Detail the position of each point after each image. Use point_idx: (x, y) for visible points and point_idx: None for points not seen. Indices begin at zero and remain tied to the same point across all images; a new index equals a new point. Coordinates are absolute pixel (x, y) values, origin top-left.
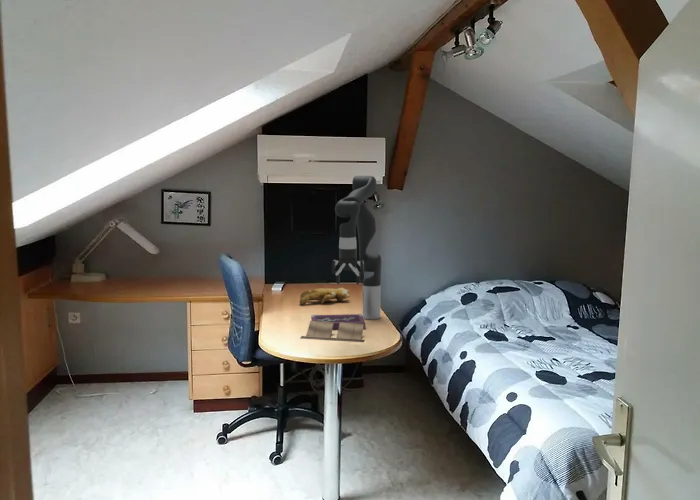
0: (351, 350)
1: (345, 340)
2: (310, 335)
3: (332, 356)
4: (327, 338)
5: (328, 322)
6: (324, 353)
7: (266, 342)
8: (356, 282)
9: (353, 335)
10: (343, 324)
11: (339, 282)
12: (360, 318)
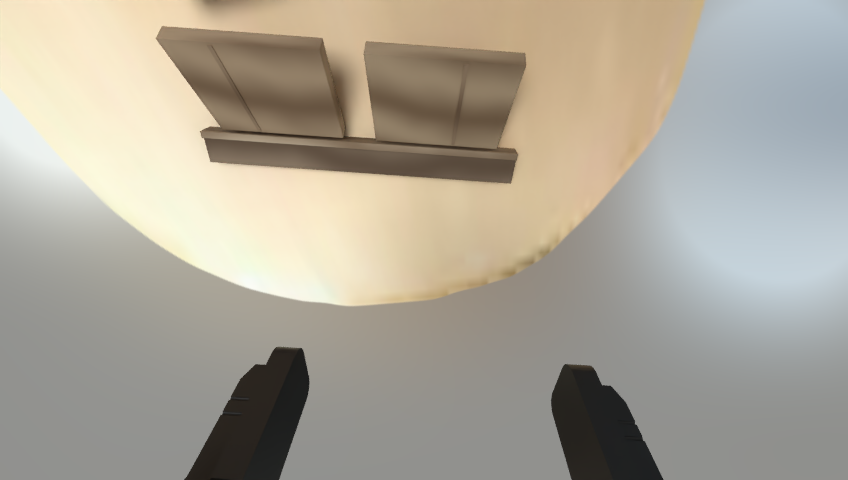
0: (461, 242)
1: (426, 167)
2: (241, 126)
3: (405, 300)
4: (335, 146)
5: (287, 53)
6: (371, 278)
7: (97, 189)
8: (558, 432)
9: (461, 131)
10: (392, 68)
11: (299, 369)
12: None
